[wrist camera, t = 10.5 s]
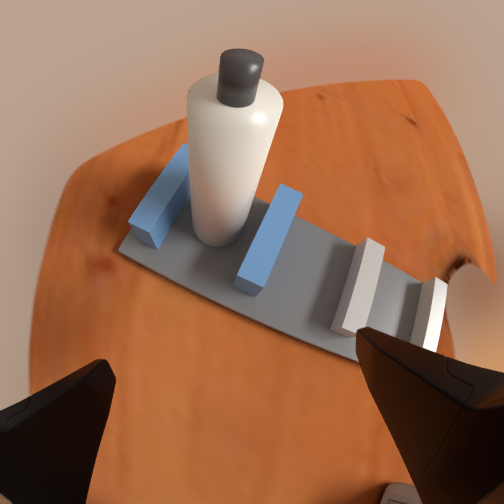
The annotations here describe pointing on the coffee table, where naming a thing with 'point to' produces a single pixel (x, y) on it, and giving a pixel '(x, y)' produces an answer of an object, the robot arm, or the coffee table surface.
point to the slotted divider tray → (283, 270)
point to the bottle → (229, 144)
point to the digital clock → (400, 494)
